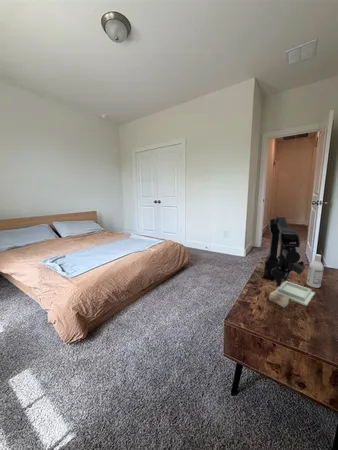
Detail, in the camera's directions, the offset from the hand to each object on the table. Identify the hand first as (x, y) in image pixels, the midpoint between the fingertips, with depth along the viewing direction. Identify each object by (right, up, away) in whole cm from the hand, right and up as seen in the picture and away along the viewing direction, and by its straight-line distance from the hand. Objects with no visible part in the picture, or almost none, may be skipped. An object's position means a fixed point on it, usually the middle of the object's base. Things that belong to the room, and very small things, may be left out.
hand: (282, 283), depth 99 cm
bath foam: (+30, -7, +18) cm, 36 cm away
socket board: (+13, -9, +10) cm, 18 cm away
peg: (-1, -11, +3) cm, 11 cm away
